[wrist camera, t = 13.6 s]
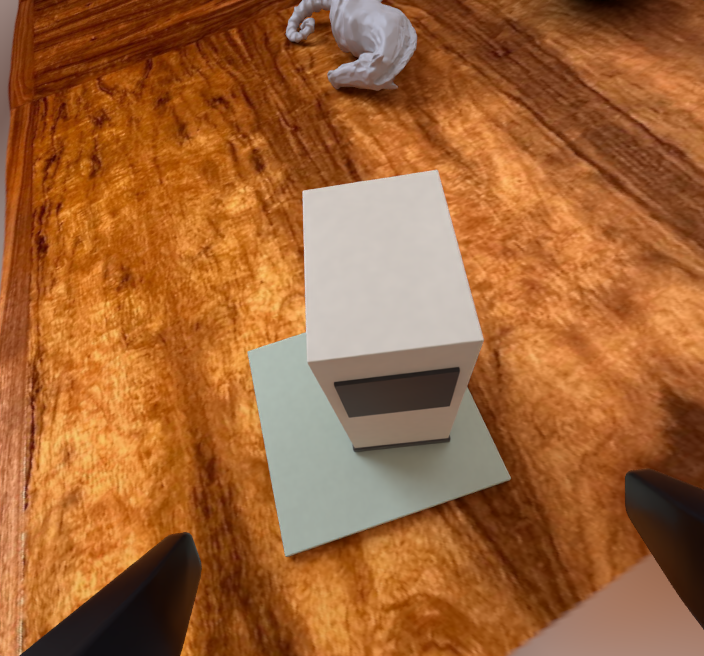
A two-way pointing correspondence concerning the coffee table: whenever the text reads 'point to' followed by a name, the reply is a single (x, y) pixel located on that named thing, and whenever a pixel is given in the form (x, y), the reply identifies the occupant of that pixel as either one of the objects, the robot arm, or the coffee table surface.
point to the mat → (353, 457)
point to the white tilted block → (388, 309)
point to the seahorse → (361, 40)
